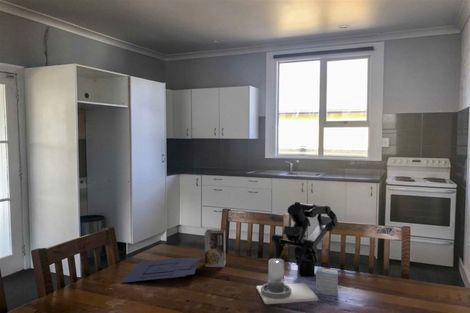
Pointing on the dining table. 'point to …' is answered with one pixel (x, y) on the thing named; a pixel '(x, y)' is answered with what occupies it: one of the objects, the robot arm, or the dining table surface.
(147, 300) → the dining table surface
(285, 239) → the robot arm
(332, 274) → the medicine box
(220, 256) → the coffee box
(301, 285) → the locating plate
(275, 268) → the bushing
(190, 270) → the papers
